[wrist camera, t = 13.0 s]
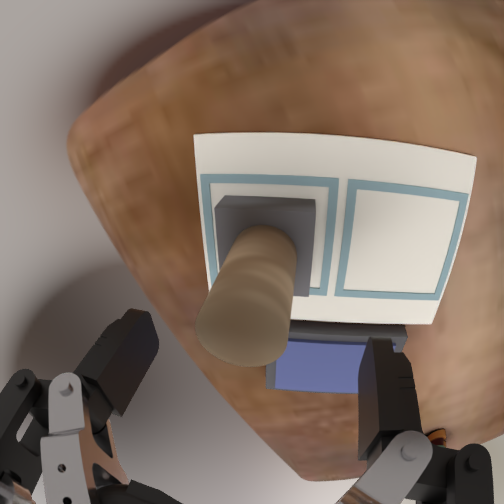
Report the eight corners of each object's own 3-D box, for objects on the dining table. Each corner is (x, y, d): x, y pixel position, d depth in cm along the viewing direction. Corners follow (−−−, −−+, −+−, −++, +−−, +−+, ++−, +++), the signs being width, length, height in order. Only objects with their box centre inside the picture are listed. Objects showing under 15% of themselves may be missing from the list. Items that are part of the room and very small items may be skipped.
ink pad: (404, 325, 19) (408, 339, 18) (380, 383, 23) (382, 396, 21) (268, 318, 21) (265, 333, 20) (267, 377, 24) (265, 391, 23)
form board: (473, 155, 13) (477, 157, 12) (429, 320, 19) (431, 325, 18) (196, 134, 15) (192, 135, 15) (213, 307, 21) (211, 312, 21)
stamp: (315, 199, 16) (318, 286, 9) (309, 277, 18) (303, 384, 11) (224, 195, 17) (163, 272, 10) (229, 271, 19) (186, 368, 12)
